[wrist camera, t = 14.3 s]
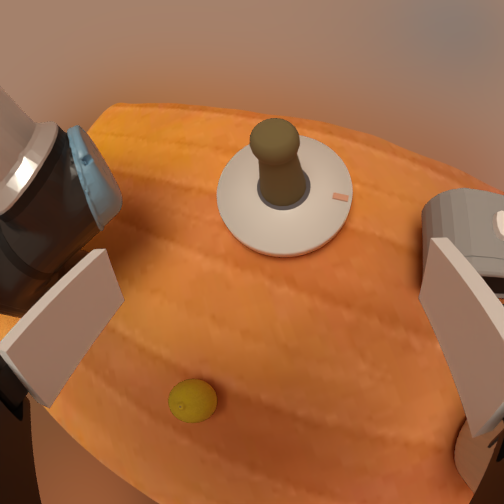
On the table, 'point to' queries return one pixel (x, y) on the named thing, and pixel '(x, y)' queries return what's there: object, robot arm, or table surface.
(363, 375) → the table surface
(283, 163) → the cork
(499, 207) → the alarm clock
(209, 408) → the lemon
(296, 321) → the table surface
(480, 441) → the canister
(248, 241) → the turntable
